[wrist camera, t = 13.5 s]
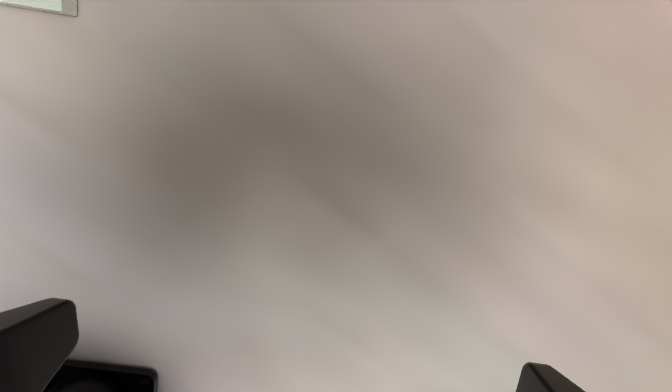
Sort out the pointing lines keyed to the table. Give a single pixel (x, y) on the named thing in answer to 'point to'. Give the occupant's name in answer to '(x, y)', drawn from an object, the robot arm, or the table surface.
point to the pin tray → (46, 5)
